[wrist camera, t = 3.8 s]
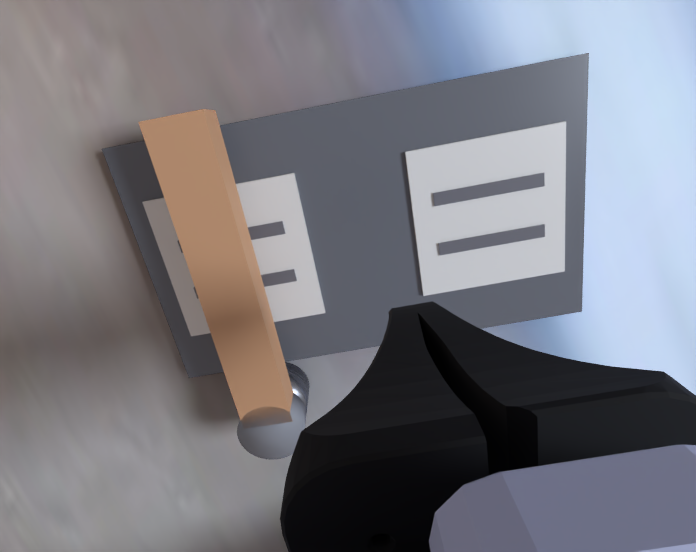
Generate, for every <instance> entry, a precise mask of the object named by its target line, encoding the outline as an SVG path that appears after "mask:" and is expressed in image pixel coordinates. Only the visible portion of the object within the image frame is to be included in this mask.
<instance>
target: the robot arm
mask: <svg viewBox="0 0 696 552" xmlns="http://www.w3.org/2000/svg"><path fill="white" fill-rule="evenodd" d="M388 314H389V320H388V325H387V329H386V332H385V335H384V338H383V341H382V343H381V345H380V347H379V350H378V352H377V354H376V356H375V358H374V360H373V362H372V364H371V365H370V367H369V368H368V370H367V372H366V373H365V375H364V376H363V377H362V379H361V380H360V381H359V383H358V384H357V385H356V386H355V388H354V389H353V390H352V391H351V392H350V393H349V394H348V395H347V396H346V397H345V398H344V399H343V400H342V401H341V402H340V403H339V404H338V405H336V406H335V407H334V408H333V409H332V410H331V411H329V412H328V413H327V414H325V415H324V416H323V417H321V418H320V419H318V420H317V421H315V422H314V423H313V424H311V425H310V426H308V427H307V428H305V429H304V430H302V431H301V433H300V435H299V438H298V441H297V444H296V446H295V449H294V452H293V456H292V459H291V462H290V465H289V469H288V473H287V477H286V482H285V487H284V495H283V502H282V509H281V516H280V520H281V527H282V534H283V537H284V540H285V543H286V546H287V549H288V552H696V396H695V395H694V394H693V393H691V392H690V391H689V390H687V389H686V388H685V387H684V386H682V385H681V384H680V383H678V382H677V381H676V380H674V379H673V378H672V377H670V376H669V375H668V374H666V373H665V372H661V371H651V370H641V369H631V368H620V367H611V366H604V365H598V364H592V363H587V362H581V361H576V360H571V359H566V358H562V357H558V356H554V355H550V354H546V353H542V352H538V351H535V350H532V349H529V348H525V347H523V346H520V345H517V344H514V343H512V342H509V341H506V340H504V339H501V338H499V337H496V336H494V335H492V334H490V333H488V332H486V331H484V330H482V329H480V328H478V327H476V326H474V325H472V324H470V323H468V322H466V321H465V320H463V319H461V318H459V317H458V316H456V315H454V314H453V313H451V312H450V311H448V310H446V309H445V308H443V307H442V306H440V305H438V304H437V303H435V302H433V301H431V302H425V303H420V304H414V305H408V306H402V307H397V308H391V310H390V311H389V312H388Z"/></svg>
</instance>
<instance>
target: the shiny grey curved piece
mask: <svg viewBox="0 0 696 552" xmlns="http://www.w3.org/2000/svg"><path fill="white" fill-rule="evenodd" d="M285 364H286V368H287V371H288V375H289V378H290V382H291V386H292V389H293V393H295V394H296V395H298V396H299V397H300V398H301V400H302V401H303V403H304V405H305V408H306V412H307V404H308V395H309V381H308V378H307V376H306V374H305V373H304V372H303V371H302V370H301V369H300V368H299V367H297V366H295V365H293V364H291V363H287V362H285Z"/></svg>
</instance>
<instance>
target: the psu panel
mask: <svg viewBox="0 0 696 552" xmlns="http://www.w3.org/2000/svg"><path fill="white" fill-rule="evenodd" d="M588 61H589V53H586V54H581V55H576V56H571V57H566V58H561V59H555V60H550V61H545V62H540V63H535V64H530V65H525V66H520V67H515V68H510V69H505V70H500V71H495V72H490V73H484V74H479V75H474V76H469V77H464V78H459V79H454V80H449V81H444V82H439V83H434V84H429V85H424V86H419V87H413V88H408V89H403V90H398V91H393V92H388V93H383V94H378V95H373V96H368V97H363V98H358V99H353V100H348V101H342V102H337V103H332V104H327V105H322V106H317V107H312V108H307V109H302V110H297V111H292V112H287V113H282V114H276V115H271V116H266V117H261V118H256V119H251V120H246V121H241V122H236V123H231V124H226V125H221V126H220V129H221V133H222V136H223V140H224V144H225V147H226V151H227V154H228V158H229V162H230V165H231V169H232V172H233V176H234V180H235V183H236V187H237V191H238V194H239V198H240V201H241V205H242V209H243V212H244V216H245V219H246V223H247V227H248V230H249V234H250V237H251V241H252V245H253V248H254V252H255V256H256V259H257V263H258V266H259V270H260V274H261V277H262V281H263V284H264V288H265V292H266V295H267V299H268V303H269V306H270V310H271V313H272V317H273V321H274V324H275V328H276V331H277V335H278V339H279V342H280V346H281V350H282V353H283V357H284V360H285V362H286V361H292V360H298V359H304V358H310V357H316V356H322V355H327V354H333V353H339V352H345V351H351V350H357V349H363V348H369V347H375V346H380V345H381V343H382V341H383V338H384V335H385V332H386V329H387V325H388V320H389V314H388V312H389V311H390V310H391V308H397V307H402V306H408V305H414V304H420V303H425V302H431V301H433V302H435V303H437V304H438V305H440V306H442V307H443V308H445V309H446V310H448V311H450V312H451V313H453V314H454V315H456V316H458V317H459V318H461V319H463V320H465V321H466V322H468V323H470V324H472V325H474V326H476V327H478V328H480V329H481V328H487V327H493V326H499V325H504V324H510V323H516V322H522V321H528V320H534V319H540V318H546V317H552V316H558V315H563V314H569V313H575V312H581V311H582V285H583V248H584V210H585V173H586V136H587V99H588ZM102 151H103V154H104V156H105V159H106V162H107V164H108V167H109V169H110V172H111V175H112V177H113V180H114V182H115V185H116V188H117V190H118V193H119V196H120V198H121V201H122V203H123V206H124V209H125V211H126V214H127V217H128V219H129V222H130V224H131V227H132V230H133V232H134V235H135V238H136V240H137V243H138V245H139V248H140V251H141V253H142V256H143V259H144V261H145V264H146V266H147V269H148V272H149V274H150V277H151V279H152V282H153V285H154V287H155V290H156V293H157V295H158V298H159V300H160V303H161V306H162V308H163V311H164V314H165V316H166V319H167V321H168V324H169V327H170V329H171V332H172V335H173V337H174V340H175V342H176V345H177V348H178V350H179V353H180V355H181V358H182V361H183V363H184V366H185V369H186V371H187V374H188V376H189V378H192V377H198V376H204V375H209V374H215V373H221V372H224V370H223V368H222V365H221V362H220V359H219V356H218V353H217V350H216V347H215V344H214V341H213V338H212V335H211V333H210V330H209V327H208V324H207V321H206V318H205V315H204V312H203V309H202V306H201V303H200V300H199V298H198V295H197V292H196V289H195V286H194V283H193V280H192V277H191V274H190V271H189V268H188V265H187V263H186V260H185V257H184V254H183V251H182V248H181V245H180V242H179V239H178V236H177V233H176V230H175V227H174V225H173V222H172V219H171V216H170V213H169V210H168V207H167V204H166V201H165V198H164V195H163V192H162V190H161V187H160V184H159V181H158V178H157V175H156V172H155V169H154V166H153V163H152V160H151V157H150V155H149V152H148V149H147V146H146V143H145V141H140V142H134V143H129V144H124V145H119V146H114V147H109V148H104V149H102Z"/></svg>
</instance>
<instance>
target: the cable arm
mask: <svg viewBox="0 0 696 552" xmlns="http://www.w3.org/2000/svg"><path fill="white" fill-rule="evenodd" d="M139 125H140V128H141V131H142V134H143V137H144V140H145V143H146V146H147V149H148V152H149V155H150V157H151V160H152V163H153V166H154V169H155V172H156V175H157V178H158V181H159V184H160V187H161V190H162V192H163V195H164V198H165V201H166V204H167V207H168V210H169V213H170V216H171V219H172V222H173V225H174V227H175V230H176V233H177V236H178V239H179V242H180V245H181V248H182V251H183V254H184V257H185V260H186V263H187V265H188V268H189V271H190V274H191V277H192V280H193V283H194V286H195V289H196V292H197V295H198V298H199V300H200V303H201V306H202V309H203V312H204V315H205V318H206V321H207V324H208V327H209V330H210V333H211V335H212V338H213V341H214V344H215V347H216V350H217V353H218V356H219V359H220V362H221V365H222V368H223V370H224V373H225V376H226V379H227V382H228V385H229V388H230V391H231V394H232V397H233V400H234V403H235V405H236V408H237V411H238V414H239V417H240V422H239V425H238V428H237V435H238V439H239V441H240V443H241V445H242V446H243V447H244V448H245V449H246V450H247V451H248V452H249V453H251V454H253V455H255V456H257V457H260V458H264V459H281V458H284V457H287V456H289V455H291V454H293V452H294V449H295V446H296V444H297V441H298V438H299V435H300V433H301V431H302V430H304V429H305V422H306V408H305V405H304V403H303V401H302V400H301V398H300V397H299V396H298V395H296V394H295V393H293V389H292V386H291V382H290V378H289V375H288V371H287V368H286V364H285V360H284V357H283V353H282V350H281V346H280V342H279V339H278V335H277V331H276V328H275V324H274V321H273V317H272V313H271V310H270V306H269V303H268V299H267V295H266V292H265V288H264V284H263V281H262V277H261V274H260V270H259V266H258V263H257V259H256V256H255V252H254V248H253V245H252V241H251V237H250V234H249V230H248V227H247V223H246V219H245V216H244V212H243V209H242V205H241V201H240V198H239V194H238V191H237V187H236V183H235V180H234V176H233V172H232V169H231V165H230V162H229V158H228V154H227V151H226V147H225V144H224V140H223V136H222V133H221V129H220V125H219V122H218V118H217V115H216V111H215V110H207V109H201V110H196V111H191V112H186V113H181V114H176V115H171V116H166V117H161V118H156V119H151V120H146V121H141V122H139Z"/></svg>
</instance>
